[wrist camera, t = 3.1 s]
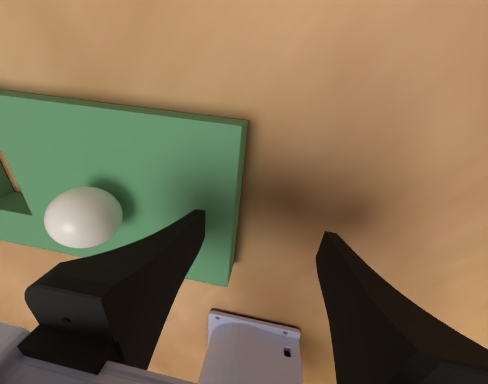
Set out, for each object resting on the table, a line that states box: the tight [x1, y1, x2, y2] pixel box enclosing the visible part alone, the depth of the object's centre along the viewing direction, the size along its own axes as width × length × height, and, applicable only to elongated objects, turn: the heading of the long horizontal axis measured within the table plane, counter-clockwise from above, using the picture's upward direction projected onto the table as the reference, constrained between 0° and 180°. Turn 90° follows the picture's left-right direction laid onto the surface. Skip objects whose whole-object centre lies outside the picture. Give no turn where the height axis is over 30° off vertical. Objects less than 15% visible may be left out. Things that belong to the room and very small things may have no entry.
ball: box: [44, 187, 123, 248], centre depth 12 cm, size 4×4×4 cm
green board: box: [0, 90, 248, 287], centre depth 13 cm, size 24×12×6 cm, turn 84°
